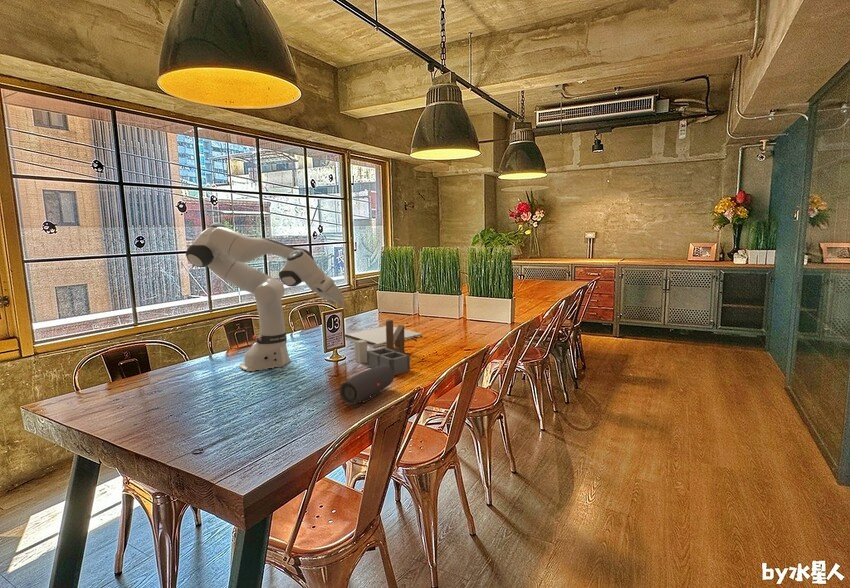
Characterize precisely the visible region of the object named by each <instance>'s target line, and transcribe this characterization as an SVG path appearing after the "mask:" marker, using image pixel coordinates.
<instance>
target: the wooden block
mask: <svg viewBox="0 0 850 588" xmlns="http://www.w3.org/2000/svg"><path fill="white" fill-rule="evenodd" d="M385 326H386V345H385V346H386V347H385V348H388V349H391V350H394V351H397V352H400V353H403V352H404V353H405V351H406V350H405V341H404V329H405V325H404V324H398V325H397V329H396V331H395V332H394V334H393V327H394V320H393V319H386V320H385ZM394 342H395V343H394ZM404 353H403V354H404Z"/></svg>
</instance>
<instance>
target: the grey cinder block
mask: <svg viewBox="0 0 850 588" xmlns="http://www.w3.org/2000/svg"><path fill="white" fill-rule="evenodd" d="M410 358H411V357H410V355H408V354H406V353H400V352H397V351H394V350H391V349H388V348H386V347H379V348H376V349H375V348H374V349H373V350H372V349H371V350H367V362H366V366H367V367H368V368H370V367H371V368H370V369H372V368H374V367H377V366H380V365H387V366H389V367H390V368H391V370H392V372H393V374H394V376H397V375H401V374H404V373H408V372H411V371H410V370H411V365H410V363H411V362H410V360H411V359H410Z"/></svg>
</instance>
